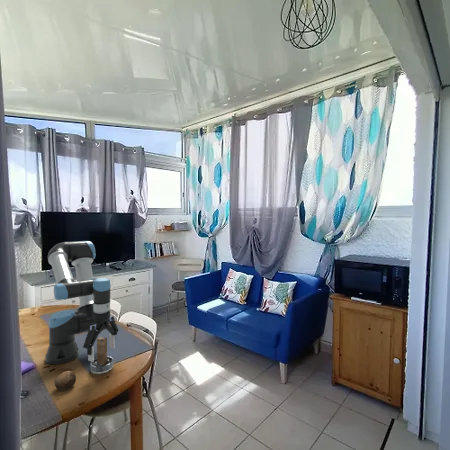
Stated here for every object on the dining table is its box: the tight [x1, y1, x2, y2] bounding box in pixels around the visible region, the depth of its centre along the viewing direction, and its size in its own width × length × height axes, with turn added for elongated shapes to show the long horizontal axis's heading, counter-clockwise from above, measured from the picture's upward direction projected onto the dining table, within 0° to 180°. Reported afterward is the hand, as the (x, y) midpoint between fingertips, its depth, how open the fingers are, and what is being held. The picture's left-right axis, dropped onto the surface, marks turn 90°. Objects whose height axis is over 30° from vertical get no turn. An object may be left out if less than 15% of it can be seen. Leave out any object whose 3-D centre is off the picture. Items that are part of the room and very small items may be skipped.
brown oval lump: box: [54, 370, 77, 391], centre depth 121 cm, size 8×8×6 cm
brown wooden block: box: [96, 336, 108, 366], centre depth 135 cm, size 2×4×14 cm, turn 71°
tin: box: [89, 355, 115, 375], centre depth 135 cm, size 10×10×4 cm
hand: (102, 353), depth 135 cm, fingers open, 13 cm apart
